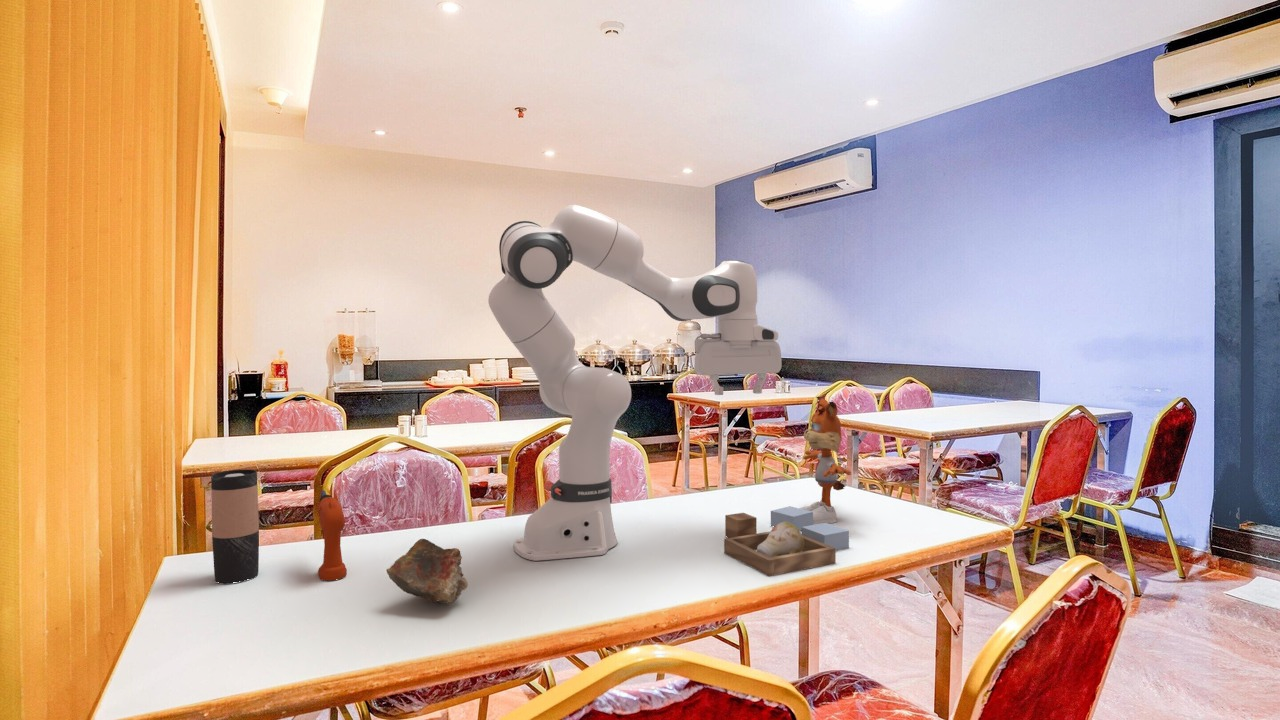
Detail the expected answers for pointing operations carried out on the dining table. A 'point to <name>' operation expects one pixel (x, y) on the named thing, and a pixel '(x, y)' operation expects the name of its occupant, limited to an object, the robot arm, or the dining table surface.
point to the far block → (792, 517)
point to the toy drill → (331, 537)
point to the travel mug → (235, 525)
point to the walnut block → (740, 525)
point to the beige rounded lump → (782, 541)
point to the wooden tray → (808, 558)
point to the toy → (825, 458)
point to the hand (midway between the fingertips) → (738, 394)
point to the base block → (828, 535)
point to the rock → (429, 572)
